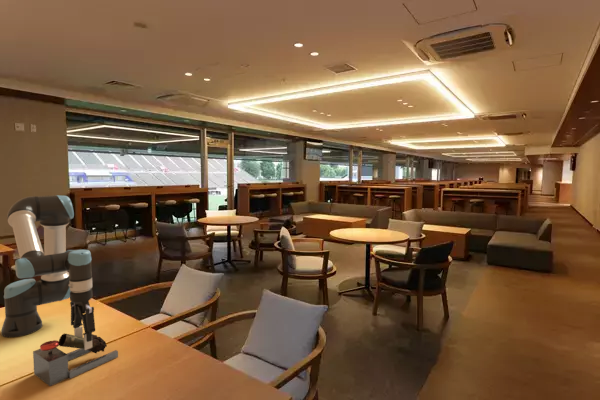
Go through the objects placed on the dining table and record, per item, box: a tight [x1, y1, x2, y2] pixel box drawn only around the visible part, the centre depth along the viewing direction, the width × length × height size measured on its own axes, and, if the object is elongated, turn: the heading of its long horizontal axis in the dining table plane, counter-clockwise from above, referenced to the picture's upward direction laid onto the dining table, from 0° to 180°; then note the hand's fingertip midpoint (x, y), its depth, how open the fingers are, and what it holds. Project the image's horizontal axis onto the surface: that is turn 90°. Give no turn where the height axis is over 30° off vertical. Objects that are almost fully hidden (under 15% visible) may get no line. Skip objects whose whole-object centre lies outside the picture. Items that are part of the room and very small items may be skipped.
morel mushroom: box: [58, 333, 108, 355], centre depth 136 cm, size 18×7×6 cm
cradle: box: [32, 340, 119, 387], centre depth 134 cm, size 15×24×12 cm, turn 148°
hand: (83, 345), depth 136 cm, fingers closed on morel mushroom, 7 cm apart
